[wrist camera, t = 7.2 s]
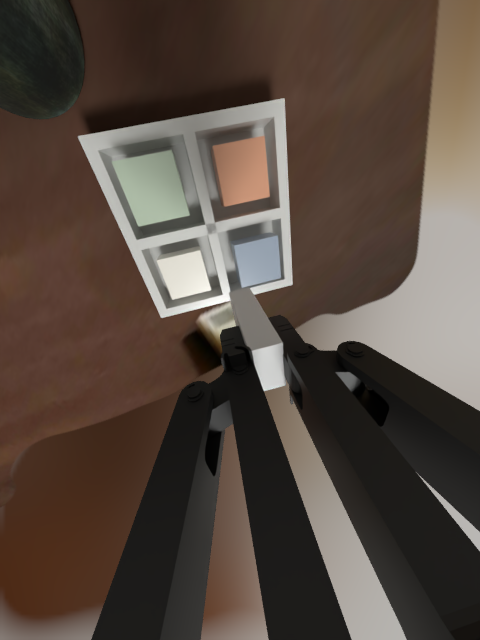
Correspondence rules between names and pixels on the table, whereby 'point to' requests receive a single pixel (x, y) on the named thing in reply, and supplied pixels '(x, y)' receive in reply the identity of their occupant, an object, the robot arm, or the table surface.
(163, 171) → the key sage
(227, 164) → the key terracotta
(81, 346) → the table surface
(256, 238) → the key slate
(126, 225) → the frame
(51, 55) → the mug
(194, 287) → the key ivory
